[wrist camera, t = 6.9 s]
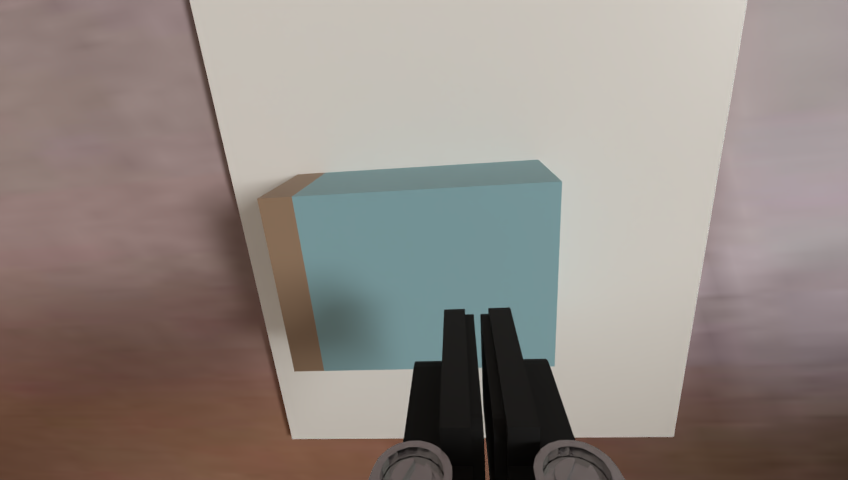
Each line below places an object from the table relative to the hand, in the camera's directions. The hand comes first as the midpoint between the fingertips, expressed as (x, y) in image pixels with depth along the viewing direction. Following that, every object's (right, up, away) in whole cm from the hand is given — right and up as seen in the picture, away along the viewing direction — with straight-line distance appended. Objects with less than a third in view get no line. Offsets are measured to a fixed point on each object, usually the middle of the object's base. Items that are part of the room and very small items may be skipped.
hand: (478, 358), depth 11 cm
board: (+1, +3, +8) cm, 9 cm away
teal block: (+3, +2, +5) cm, 7 cm away
